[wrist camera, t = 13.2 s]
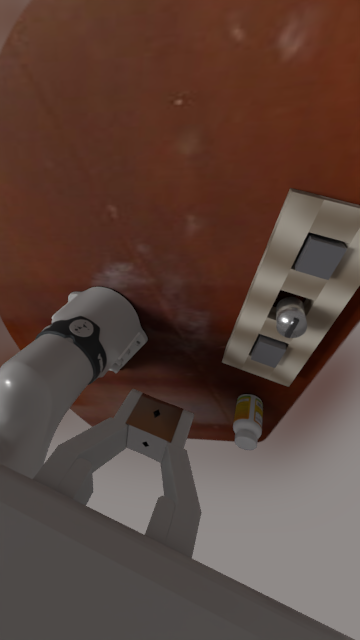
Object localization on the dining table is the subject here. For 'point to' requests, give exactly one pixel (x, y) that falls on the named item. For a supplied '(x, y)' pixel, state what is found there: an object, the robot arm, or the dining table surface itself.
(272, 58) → the dining table surface
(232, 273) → the dining table surface
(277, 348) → the inner button
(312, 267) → the outer button
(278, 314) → the steel dial
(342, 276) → the mount
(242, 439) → the supplement bottle
